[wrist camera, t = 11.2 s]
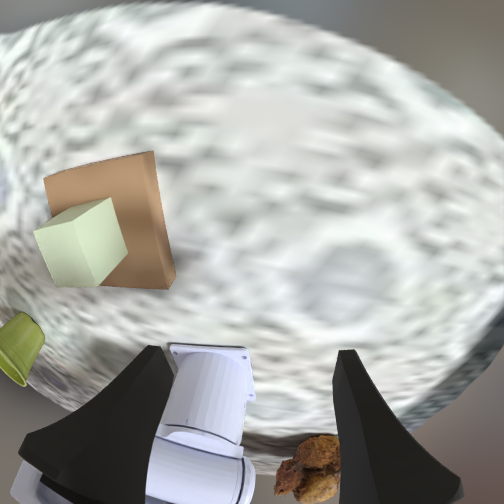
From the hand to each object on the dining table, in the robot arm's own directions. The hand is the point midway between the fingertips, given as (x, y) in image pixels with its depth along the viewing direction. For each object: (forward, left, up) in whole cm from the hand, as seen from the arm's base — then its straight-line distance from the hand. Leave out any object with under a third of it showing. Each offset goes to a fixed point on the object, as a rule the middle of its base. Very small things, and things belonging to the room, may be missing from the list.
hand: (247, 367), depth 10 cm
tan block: (+3, +12, -11) cm, 17 cm away
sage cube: (+3, +12, -9) cm, 15 cm away
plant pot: (-12, +36, -11) cm, 40 cm away
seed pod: (-36, -8, -11) cm, 39 cm away
